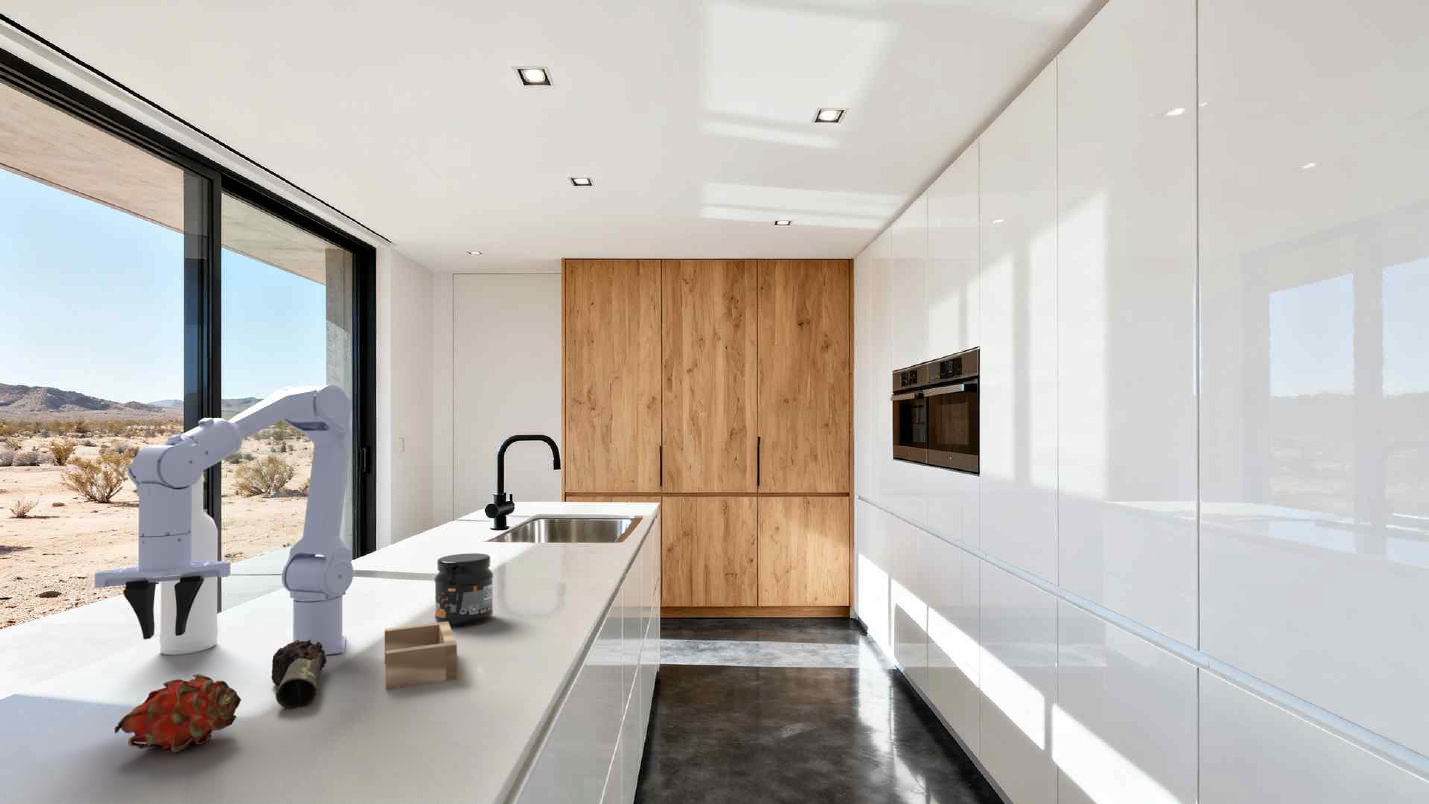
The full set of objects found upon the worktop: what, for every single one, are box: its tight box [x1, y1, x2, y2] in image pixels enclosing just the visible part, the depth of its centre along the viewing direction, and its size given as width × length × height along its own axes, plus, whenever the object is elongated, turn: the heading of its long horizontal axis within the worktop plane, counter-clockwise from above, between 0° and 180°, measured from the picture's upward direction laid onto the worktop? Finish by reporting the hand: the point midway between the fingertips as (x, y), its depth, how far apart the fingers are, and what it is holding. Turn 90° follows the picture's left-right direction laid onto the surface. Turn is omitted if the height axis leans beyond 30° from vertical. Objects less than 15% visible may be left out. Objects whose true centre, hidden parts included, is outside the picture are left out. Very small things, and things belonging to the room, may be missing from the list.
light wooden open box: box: [384, 621, 458, 690], centre depth 111 cm, size 14×10×5 cm
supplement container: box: [434, 552, 494, 628], centre depth 138 cm, size 10×10×12 cm
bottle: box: [159, 472, 219, 656], centre depth 124 cm, size 8×8×30 cm
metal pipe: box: [271, 639, 328, 710], centre depth 104 cm, size 18×7×6 cm, turn 24°
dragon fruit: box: [114, 673, 242, 754], centre depth 85 cm, size 8×8×12 cm
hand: (164, 635), depth 98 cm, fingers open, 3 cm apart
